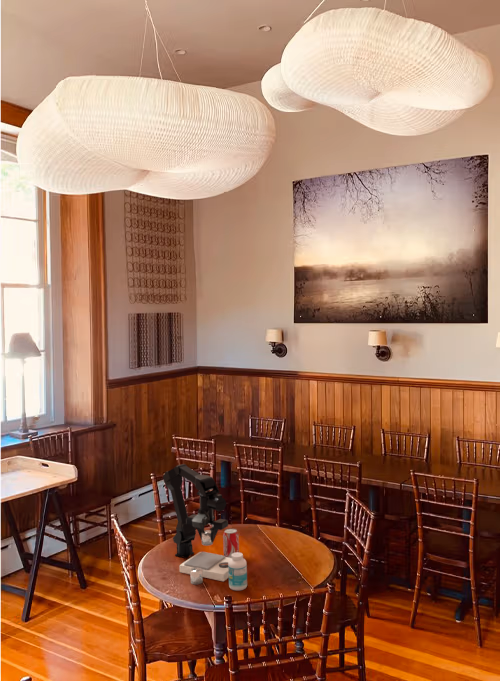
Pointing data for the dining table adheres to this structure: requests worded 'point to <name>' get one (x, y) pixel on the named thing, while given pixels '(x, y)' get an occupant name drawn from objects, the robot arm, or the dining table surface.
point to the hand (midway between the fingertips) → (207, 541)
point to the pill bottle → (237, 572)
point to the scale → (208, 565)
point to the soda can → (230, 542)
